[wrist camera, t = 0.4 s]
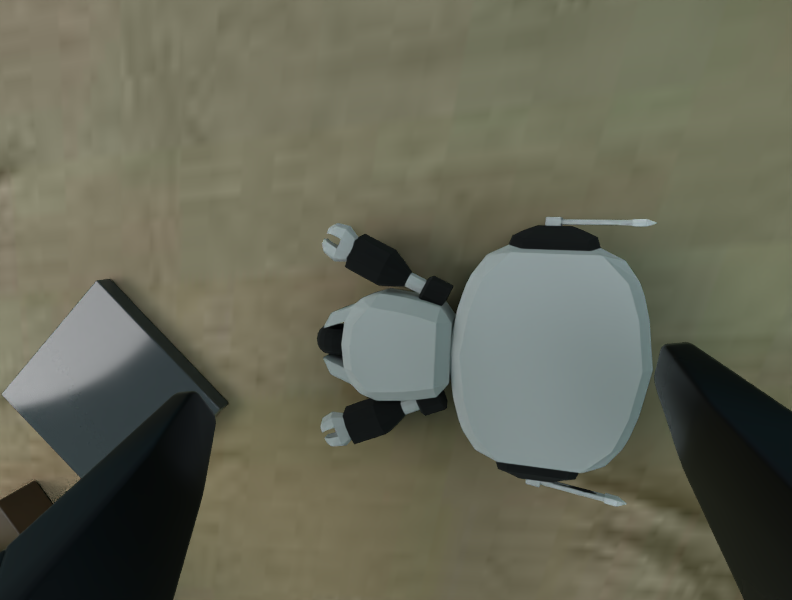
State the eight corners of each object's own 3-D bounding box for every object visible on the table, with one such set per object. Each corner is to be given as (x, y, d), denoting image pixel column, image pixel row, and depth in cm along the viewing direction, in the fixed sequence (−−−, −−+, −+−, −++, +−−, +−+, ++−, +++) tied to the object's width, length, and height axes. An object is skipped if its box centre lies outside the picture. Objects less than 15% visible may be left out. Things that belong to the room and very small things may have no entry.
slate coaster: (229, 403, 26) (219, 409, 25) (127, 505, 28) (114, 514, 27) (110, 278, 26) (96, 279, 25) (16, 389, 28) (0, 394, 27)
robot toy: (336, 430, 26) (614, 466, 23) (303, 468, 22) (643, 519, 18) (339, 215, 24) (640, 222, 21) (305, 210, 20) (677, 217, 17)
